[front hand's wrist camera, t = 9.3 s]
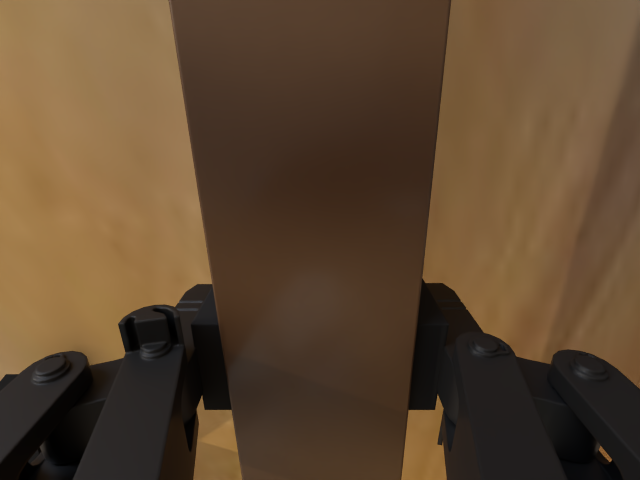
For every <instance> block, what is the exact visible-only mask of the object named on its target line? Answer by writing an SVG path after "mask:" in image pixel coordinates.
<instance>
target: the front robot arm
mask: <svg viewBox="0 0 640 480" xmlns="http://www.w3.org/2000/svg"><path fill="white" fill-rule="evenodd" d="M118 325H119V329H120V333H121V337H122V341H123V345H124V348H125V352H126V354H125V356H124V358H122V359H118V360H114V361H110V362H105V363H100V364H95V365H91V366H89V362H88V359H87V356H85V355H84V354H83V353H82V352H75V351H68V352H60V353H56V354H54V355H53V354H52V355H50V356H47V357H45V358H43V359H41V360H39V361H37V362H35V363H33V364H32V365H30V366H29V367H28V368H26V369H25V370H23V371H22V372H21V373H20V374H19V375H18V376H17V377H15V378H14V379H13V380H12V381H11V382H10V383H9V384H8V385H7V386H5V387H4V388H3V389H2V390H1V391H0V480H193V476H194V466H195V456H196V446H197V436H198V426H199V422H198V415H197V410H196V409H197V406H198V404H199V401H200V399H201V396H203V402H204V408H205V410H232V408H231V402H230V395H229V389H228V382H227V376H226V369H225V363H224V356H223V350H222V343H221V337H220V330H219V324H218V317H217V311H216V304H215V298H214V291H213V285H212V284H197V285H196V286H194V287H193V288H191V289H190V290H188V291H187V292H185V294H184V295H183V297H182V298H181V300H180V301H179V303H178V304H177V305H176V307H173V306H169V305H152V306H148V307H143V308H141V309H138V310H136V311H133V312H131V313H130V314H128V315H127V316H125V317H124V318H123V319H122V320H121V321H120V322H119V324H118ZM437 394H438V395H439V398H440V400H441V403H442V405H443V408H444V410H443V415H442V421H441V426H440V432H439V438H438V445H442V442H443V445H444V455H445V465H446V475H447V480H640V389H639V388H638V387H637V386H636V385H634V384H633V383H632V382H631V381H630V380H629V379H628V378H627V377H626V376H624V375H623V374H622V373H621V372H620V371H619V370H618V369H616V368H615V367H614V366H612V365H611V364H609V363H608V362H607V361H605V360H603V359H600V358H598V357H596V356H595V355H592V354H589V353H586V352H582V351H576V350H561V351H558V352H557V353H555V354H554V355H553V358H552V361H551V364H547V363H542V362H537V361H532V360H528V359H523V358H520V357H516V356H515V353H514V352H513V350H512V349H511V347H510V346H509V345H508V344H506V343H505V342H504V341H502V340H501V339H499V338H497V337H495V336H492V335H490V334H486V333H484V332H483V331H482V330H481V328H480V327H479V325H478V324H477V323H476V321H475V320H474V318H473V317H472V316H471V314H470V313H469V311H468V310H466V307H465V306H464V304H463V303H462V302H461V300H460V299H459V297H458V296H457V294H456V293H455V292H454V291H453V290H452V289H450V288H449V287H447V286H446V285H444V284H443V283H425V282H424V280H423V279H422V284H421V294H420V303H419V313H418V323H417V332H416V342H415V351H414V361H413V371H412V380H411V390H410V399H409V409H408V410H435V406H436V400H437ZM600 445H601V446H602V448H603V449H604V450H605V451H606V452H607V454H608V455H609V456H610V457H611V459H612V461H611V462H609V461H608V460H607V459H606V458H605V457H604V456H603V455H602V454H601V452H600V451H599V448H600ZM39 447H40V449H41V453H40V454H39V455H38V456H37V458H36V459H35V460H34V461H33V462H31V463H29V462H28V461H29V460H30V458H31V457H32V456H33V455H34V453H35V452H36V451H37V450H38V449H39Z"/></svg>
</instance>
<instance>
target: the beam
mask: <svg viewBox="0 0 640 480" xmlns="http://www.w3.org/2000/svg"><path fill="white" fill-rule="evenodd" d="M169 6H170V12H171V19H172V25H173V32H174V38H175V45H176V51H177V58H178V64H179V71H180V77H181V84H182V90H183V97H184V103H185V110H186V116H187V123H188V129H189V136H190V142H191V149H192V155H193V162H194V168H195V175H196V181H197V188H198V194H199V201H200V207H201V213H202V220H203V226H204V233H205V239H206V246H207V252H208V259H209V265H210V272H211V278H212V285H213V291H214V298H215V304H216V311H217V317H218V324H219V330H220V337H221V343H222V350H223V356H224V363H225V369H226V376H227V382H228V389H229V395H230V402H231V408H232V415H233V421H234V428H235V434H236V441H237V447H238V454H239V460H240V467H241V473H242V480H401V476H402V467H403V457H404V447H405V438H406V428H407V419H408V409H409V399H410V390H411V380H412V371H413V361H414V351H415V342H416V332H417V323H418V313H419V303H420V294H421V284H422V275H423V265H424V255H425V246H426V236H427V227H428V217H429V207H430V198H431V188H432V179H433V169H434V159H435V150H436V140H437V130H438V121H439V111H440V102H441V92H442V82H443V73H444V63H445V54H446V44H447V34H448V25H449V15H450V6H451V0H169Z"/></svg>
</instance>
